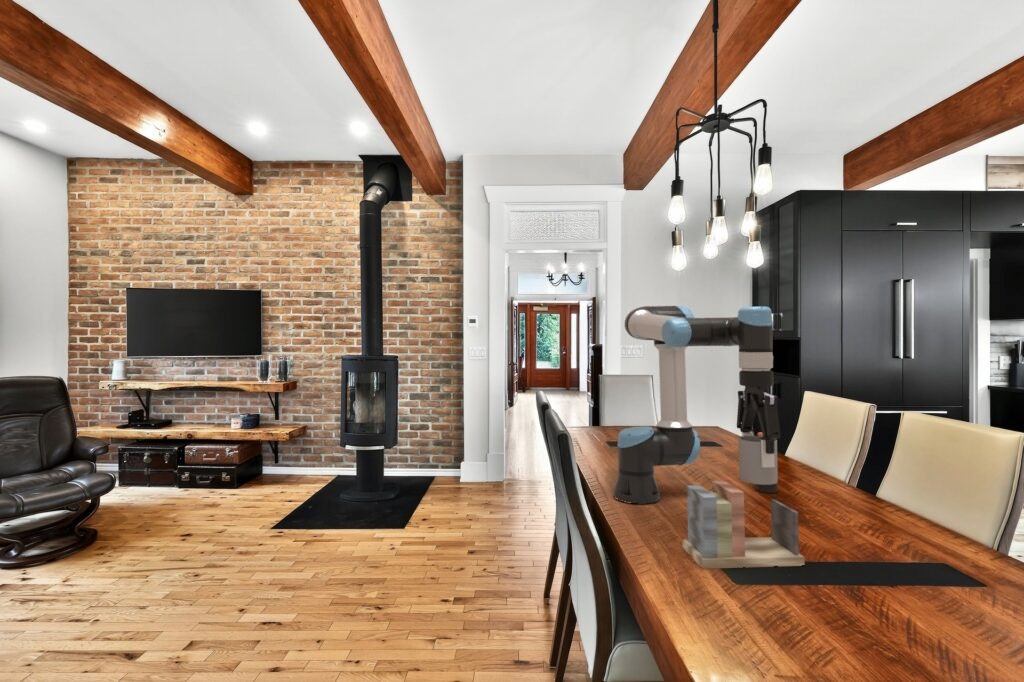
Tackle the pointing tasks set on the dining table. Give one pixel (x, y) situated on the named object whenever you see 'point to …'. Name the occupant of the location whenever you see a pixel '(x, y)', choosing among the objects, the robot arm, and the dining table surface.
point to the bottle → (766, 488)
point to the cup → (755, 462)
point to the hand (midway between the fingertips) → (757, 462)
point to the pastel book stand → (737, 531)
